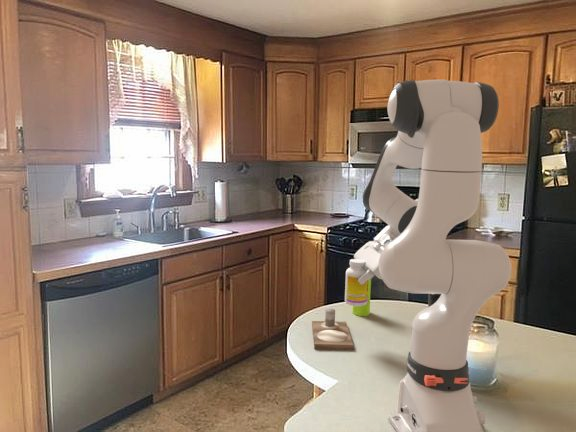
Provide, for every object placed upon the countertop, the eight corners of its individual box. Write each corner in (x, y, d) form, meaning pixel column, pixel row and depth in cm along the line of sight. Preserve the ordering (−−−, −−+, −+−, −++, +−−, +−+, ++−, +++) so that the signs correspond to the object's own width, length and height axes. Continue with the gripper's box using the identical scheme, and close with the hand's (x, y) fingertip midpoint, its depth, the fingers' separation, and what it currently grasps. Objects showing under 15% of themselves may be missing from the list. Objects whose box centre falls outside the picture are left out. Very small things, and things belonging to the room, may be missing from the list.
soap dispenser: (361, 308, 168) (364, 254, 165) (372, 314, 162) (375, 258, 159) (347, 310, 165) (349, 255, 163) (358, 317, 159) (360, 259, 156)
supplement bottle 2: (432, 313, 164) (434, 280, 162) (451, 317, 160) (453, 284, 158) (424, 318, 159) (426, 284, 157) (443, 323, 155) (446, 288, 153)
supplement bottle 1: (370, 306, 135) (372, 263, 133) (348, 307, 134) (349, 263, 132) (363, 298, 141) (365, 257, 139) (342, 299, 140) (343, 258, 138)
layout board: (353, 349, 133) (353, 328, 132) (314, 349, 133) (315, 327, 132) (345, 326, 151) (346, 306, 150) (311, 325, 151) (312, 306, 150)
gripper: (369, 231, 146) (338, 263, 146) (394, 244, 126) (358, 280, 126) (382, 245, 147) (351, 276, 147) (409, 260, 127) (373, 296, 127)
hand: (354, 278), depth 136 cm, fingers closed on supplement bottle 1, 7 cm apart
